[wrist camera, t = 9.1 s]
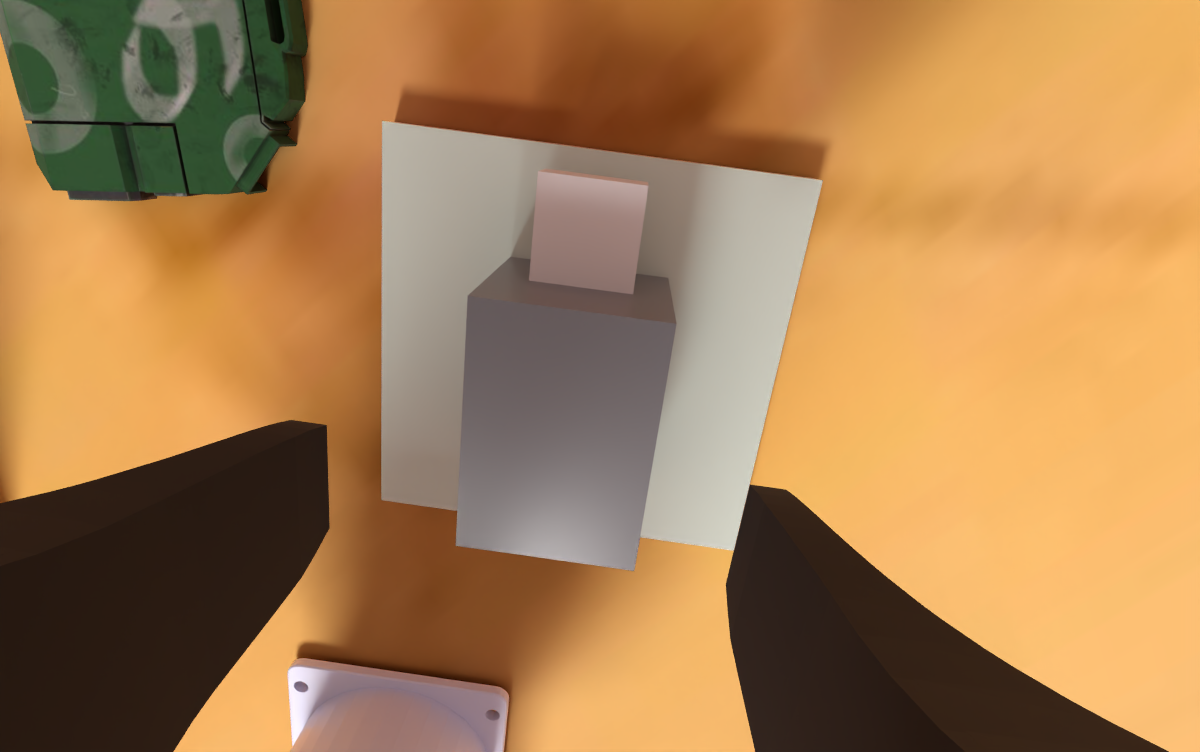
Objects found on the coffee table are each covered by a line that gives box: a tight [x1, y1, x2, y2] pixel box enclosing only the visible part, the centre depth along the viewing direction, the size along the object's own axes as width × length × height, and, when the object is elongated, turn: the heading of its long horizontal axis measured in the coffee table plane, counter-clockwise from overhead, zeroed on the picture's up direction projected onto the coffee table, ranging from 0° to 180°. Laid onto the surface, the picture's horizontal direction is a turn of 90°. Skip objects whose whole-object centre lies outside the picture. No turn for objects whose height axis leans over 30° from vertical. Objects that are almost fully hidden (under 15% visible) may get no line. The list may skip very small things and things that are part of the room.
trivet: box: [381, 121, 823, 551], centre depth 18 cm, size 11×11×1 cm
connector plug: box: [456, 169, 677, 571], centre depth 15 cm, size 8×4×4 cm, turn 173°
